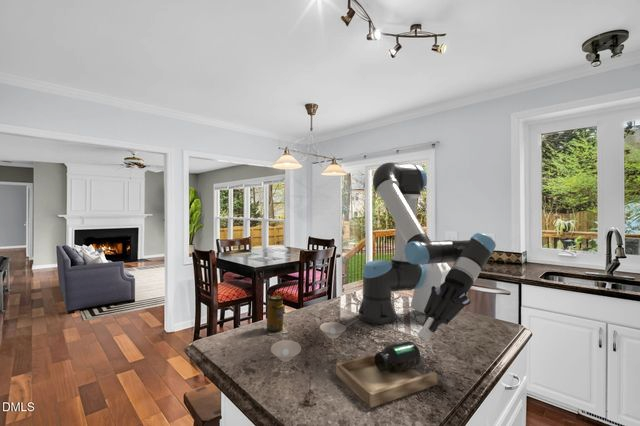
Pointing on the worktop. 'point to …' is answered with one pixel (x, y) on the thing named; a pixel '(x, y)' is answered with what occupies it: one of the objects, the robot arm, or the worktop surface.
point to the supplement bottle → (398, 357)
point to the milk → (429, 284)
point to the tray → (381, 380)
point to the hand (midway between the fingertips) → (421, 338)
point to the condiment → (275, 316)
